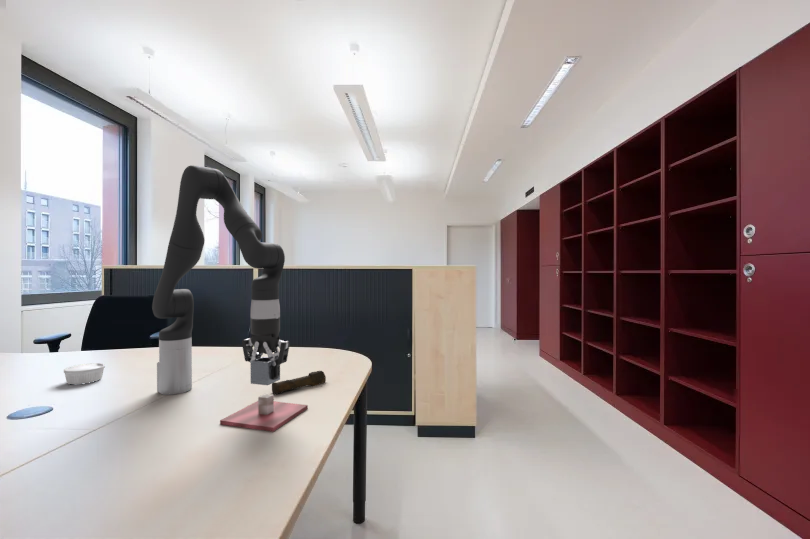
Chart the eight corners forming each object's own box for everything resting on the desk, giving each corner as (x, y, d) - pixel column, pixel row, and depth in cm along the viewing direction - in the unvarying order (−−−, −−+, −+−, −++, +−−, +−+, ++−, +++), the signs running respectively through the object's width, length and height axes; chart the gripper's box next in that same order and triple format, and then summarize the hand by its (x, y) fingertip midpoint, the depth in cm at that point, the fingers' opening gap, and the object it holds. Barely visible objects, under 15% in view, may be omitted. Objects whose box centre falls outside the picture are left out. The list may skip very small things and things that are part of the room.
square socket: (250, 383, 103) (250, 361, 103) (263, 377, 108) (263, 356, 108) (267, 385, 101) (267, 362, 101) (280, 379, 107) (280, 357, 107)
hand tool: (275, 396, 121) (275, 381, 121) (270, 393, 124) (270, 379, 124) (329, 384, 134) (329, 371, 133) (323, 382, 137) (323, 369, 137)
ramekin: (110, 380, 139) (110, 365, 139) (70, 388, 129) (70, 372, 129) (97, 375, 145) (97, 361, 145) (58, 383, 135) (58, 368, 135)
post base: (220, 424, 100) (219, 403, 99) (260, 403, 115) (259, 384, 115) (273, 431, 95) (273, 409, 95) (307, 408, 110) (307, 389, 110)
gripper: (233, 316, 103) (234, 379, 103) (280, 318, 99) (280, 384, 99) (252, 313, 110) (252, 372, 110) (296, 315, 106) (296, 376, 106)
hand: (265, 377), depth 105 cm, fingers closed on square socket, 5 cm apart
